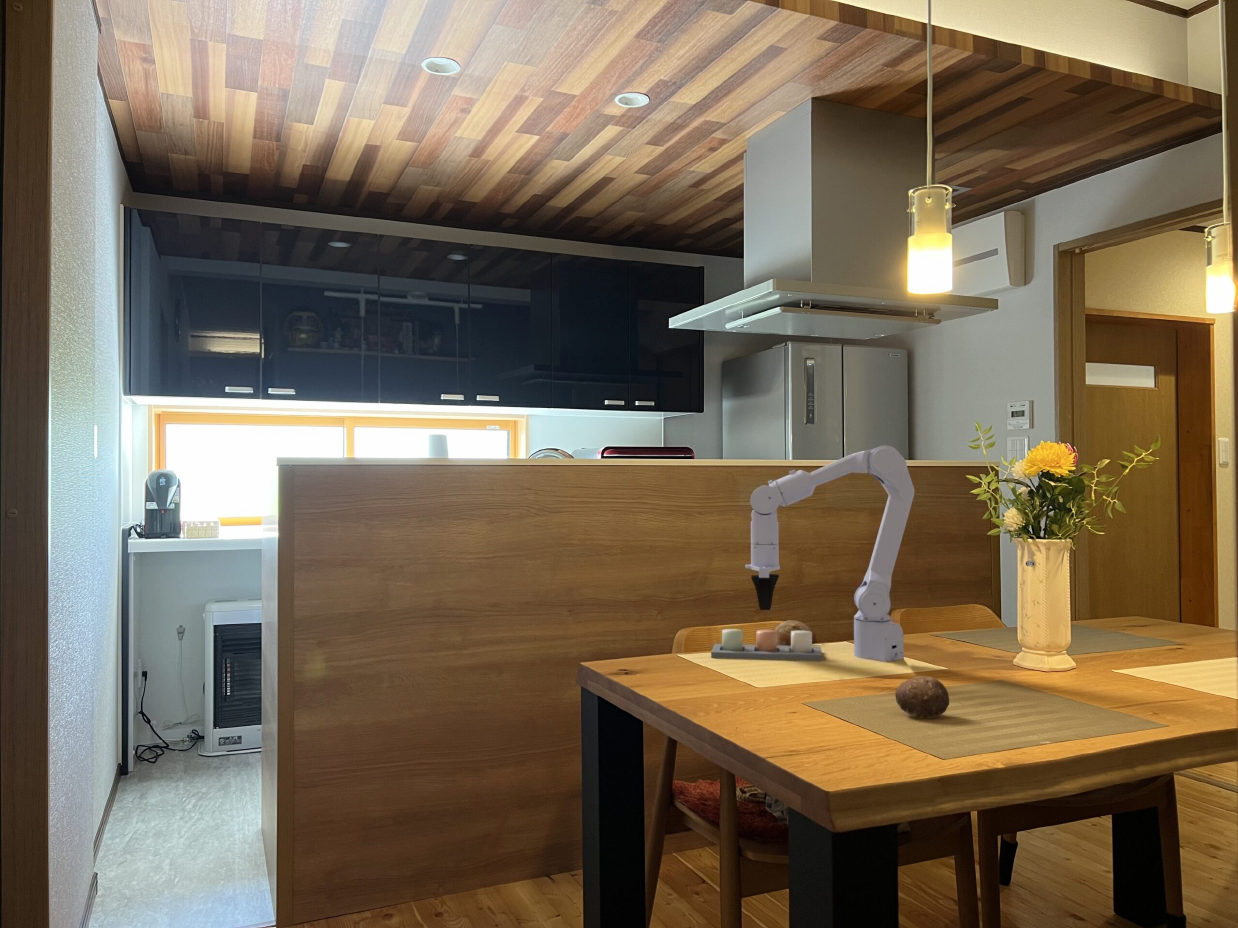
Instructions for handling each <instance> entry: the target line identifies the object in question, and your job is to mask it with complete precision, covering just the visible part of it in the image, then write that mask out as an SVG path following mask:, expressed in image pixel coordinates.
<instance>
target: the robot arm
mask: <svg viewBox="0 0 1238 928" xmlns="http://www.w3.org/2000/svg"><path fill="white" fill-rule="evenodd" d="M788 473H789V474H788V475H785V476H783V477H781V478H778V479H775V480H774V481H773V479H771V480H768V481H767V484H768V485H767V484H766V485H759V487H757V488H755V490H753V492H752V493H751V495H750V500H749V501H750V502H749V503H750V506H751V508H752V509H753V510H752V511H751V513H750V518H751V522H750V564H745V569H747V570H748V569H750V570H753V571H756V572H758V574H751V576H750V579H751V581H752V583H753V585H754V588H755V592H756V597H757V602H758V607H759V610H760V611H771V608H772V603H773V596H774V590H775V587H776V584H777V583H778V580H779V579H780V578H779V577H780V575H779V574H776V573H774V574H773V573H772V572H774V571H779V570H780V569H781V565H780V559H779V558H780V554H779V550H780V548H779V547H780V545H779V543H780V542H779V539H780V538H779V534H780V532H779V525H780V524H779V521H778V508H779V506H782V507H784V508H785V507H787V506H789V505H792V504H794V503H796V502H799V501H801V500H804V499H807V498H808V497H811V496H813V493H814V492H815V488H816V487H818V486H820V485H822V484H825V483H827V482H830V481H833V480H836V479H838V478H841V477H843V476H845V475H848V474H851V473H853V474H854V473H855V474H856V473H857V474H870V475H871V476H872V477H873V478H875V479H876V480H877V481H879V483H880V484H881V486H882V488H884V489H883V490H885V492H886V493H887V496H888V497H887V500H886V505H885V508H884V511H883V515H882V518H881V522H880V526H879V529H878V533H877V537H876V540H875V543H874V547H873V551H872V555H871V558H870V561H869V565H868V568H867V571H866V573H865V575H864V577H863V581H862V583H861V584H860V586H858V587H857V589H856V590H855V593H854V595H853V601H854V605H855V606H856V607H857V609H858V611H857V613H856V614H855V615H854V614H853V652H854V653H853V656H854V657H856V658H860V659H863V660H864V659H865V660H874V661H879V662H884V663H886V662H892V661H899V660H905V653H904V652H905V651H904V647H905V645H904V644H905V642H904V641H905V640H904V639H905V637H904V630H903V627H902V626H901V625H900V624H899V623H897V622H893V621H892V620H891V615H889V612H890V610H891V598H890V591H891V587H892V575H893V571H894V569H895V565H896V561H897V558H898V554H899V550H900V547H901V543H902V540H903V537H904V536H903V535H904V533H905V529H906V525H907V522H908V518H909V514H910V511H911V508H912V503H913V501H914V497H915V487H914V483H913V481H912V478H911V476H910V472H909V469H908V465H907V461H906V459H905V458H904V457H903V455H902V454H901V453H900V452H899V451H898V449H896V448H895V447H894V446H890V445H880V446H878V447H874V448H871V449H866V450H862V451H858V452H854V453H851V454H849V455H846V456H844V457H842V458H840V459H838V460H835V461H833V462H831V463H829V464H827V465H824V466H822V467H819V468H818V469H816V470H813V471H811V472H807V471H805V470H802V469H799V470H796V469H793V470H789V471H788ZM771 573H772V574H771Z"/></svg>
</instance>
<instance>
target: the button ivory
mask: <svg viewBox="0 0 1238 928" xmlns="http://www.w3.org/2000/svg"><path fill="white" fill-rule="evenodd" d="M790 646H791V652H802V653H812V647H813V644H812V632H810V631H791V645H790Z"/></svg>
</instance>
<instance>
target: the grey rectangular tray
mask: <svg viewBox="0 0 1238 928" xmlns="http://www.w3.org/2000/svg"><path fill="white" fill-rule="evenodd" d="M710 653H711V656H710V657H711V659H737V660H738V659H739V660H741V659H742V660H772V661H773V660H776V661H777V660H778V661H805V662H806V661H808V662H811V661H812V662H823V661H824V660H823V658H824V657H823V656H824V655H823V652H822V647H821V646H812V653H802V652H791V645H777V652H766V651H756V644H743V651H730V650H722V643H714V645H713V647H712V649H711V652H710Z"/></svg>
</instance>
